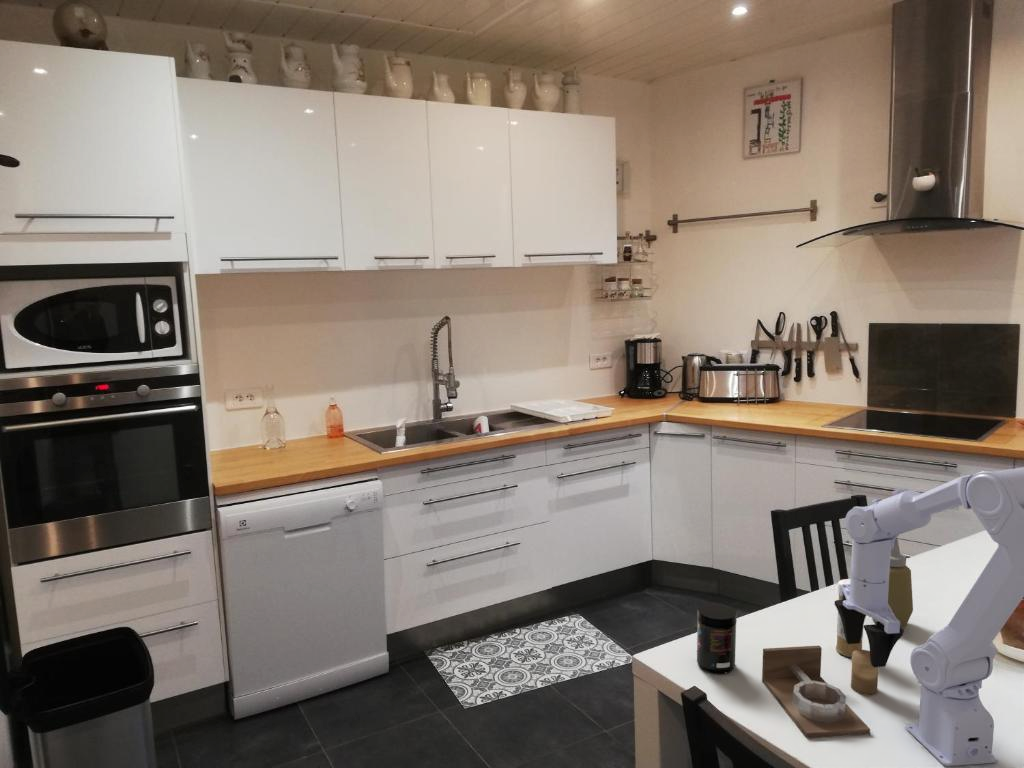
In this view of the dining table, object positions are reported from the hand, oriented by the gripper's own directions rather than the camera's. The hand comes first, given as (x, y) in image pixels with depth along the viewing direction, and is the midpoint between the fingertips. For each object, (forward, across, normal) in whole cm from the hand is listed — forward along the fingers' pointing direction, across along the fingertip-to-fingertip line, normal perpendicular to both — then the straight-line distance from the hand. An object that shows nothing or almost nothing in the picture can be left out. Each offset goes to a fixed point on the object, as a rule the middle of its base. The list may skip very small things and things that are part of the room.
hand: (865, 654), depth 122 cm
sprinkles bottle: (+6, -12, +4) cm, 14 cm away
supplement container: (+6, -10, -22) cm, 25 cm away
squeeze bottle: (+6, -22, +18) cm, 29 cm away
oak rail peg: (+6, 0, 0) cm, 6 cm away
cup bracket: (+6, +4, -11) cm, 13 cm away
